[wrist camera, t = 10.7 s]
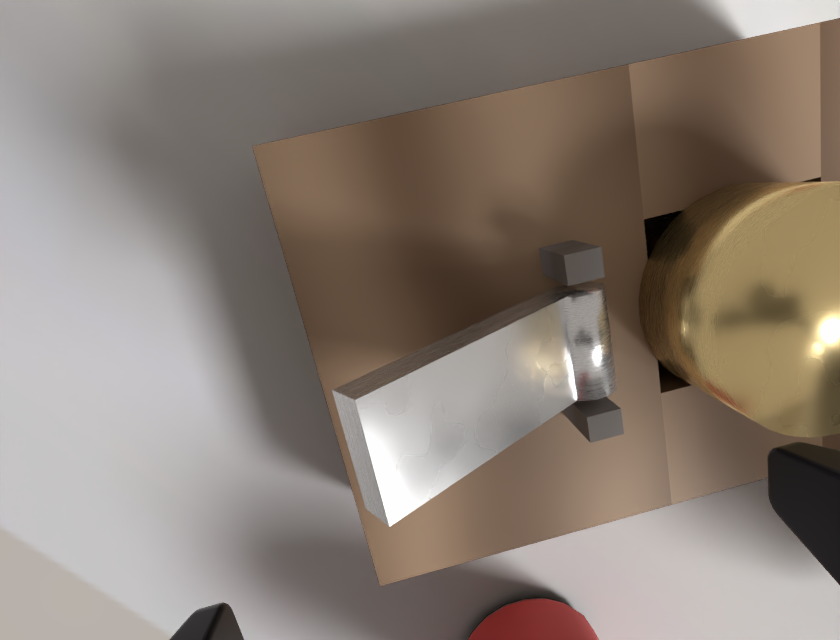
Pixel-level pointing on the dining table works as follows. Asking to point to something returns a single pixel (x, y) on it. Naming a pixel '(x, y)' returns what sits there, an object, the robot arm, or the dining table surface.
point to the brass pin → (751, 301)
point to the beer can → (534, 622)
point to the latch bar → (473, 395)
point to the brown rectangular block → (546, 266)
